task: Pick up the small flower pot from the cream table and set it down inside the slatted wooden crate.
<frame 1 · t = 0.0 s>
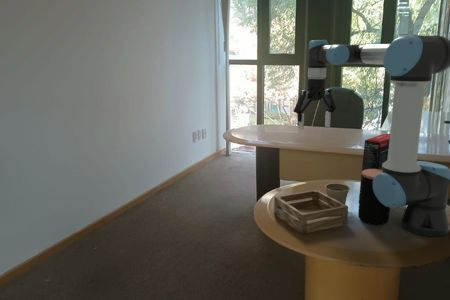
hand: (314, 127, 171), 28 cm above the table, tool pointing down, fingers open, 13 cm apart
crate: (309, 219, 147), on the table
coffee jar: (373, 220, 145), on the table
flower pot: (336, 208, 157), on the table
graphics card box: (375, 201, 163), on the table
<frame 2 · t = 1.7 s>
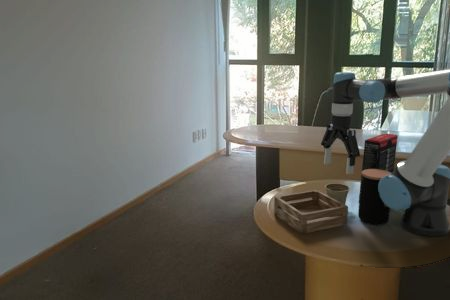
hand: (338, 168, 153), 16 cm above the table, tool pointing down, fingers open, 13 cm apart
nothing on the table moved.
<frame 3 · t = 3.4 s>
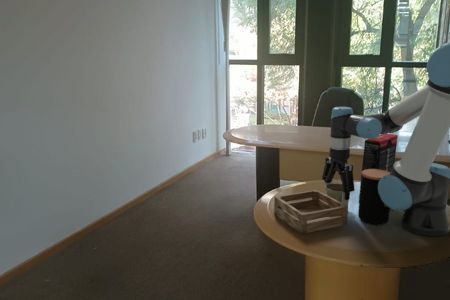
hand: (336, 202, 156), 2 cm above the table, tool pointing down, fingers closed on flower pot, 9 cm apart
flower pot: (336, 208, 157), on the table, touching gripper
everything else where it was.
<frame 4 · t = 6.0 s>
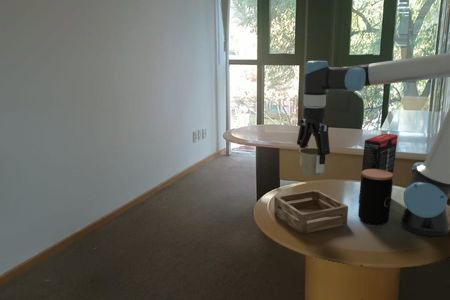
hand: (311, 168, 142), 19 cm above the table, tool pointing down, fingers closed on flower pot, 9 cm apart
flower pot: (311, 174, 143), point 17 cm above the table, touching gripper
everything else where it was.
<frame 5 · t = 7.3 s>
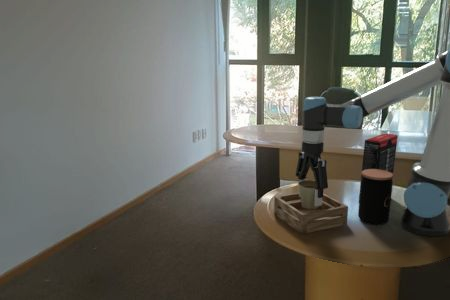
hand: (310, 200, 145), 7 cm above the table, tool pointing down, fingers closed on flower pot, 9 cm apart
flower pot: (309, 206, 145), point 5 cm above the table, touching gripper
everything else where it was.
when the fingers open (3 cm above the table, at t = 8.6 s): flower pot stays where it is, resting on crate.
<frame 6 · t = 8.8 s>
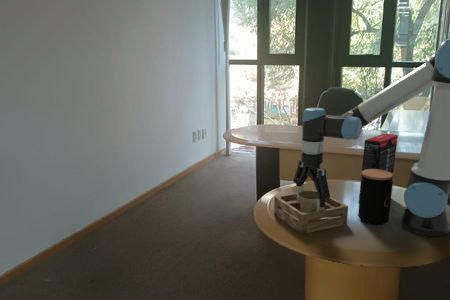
hand: (309, 208, 146), 4 cm above the table, tool pointing down, fingers open, 12 cm apart
flower pot: (309, 217, 146), point 1 cm above the table, touching crate
everything else where it was.
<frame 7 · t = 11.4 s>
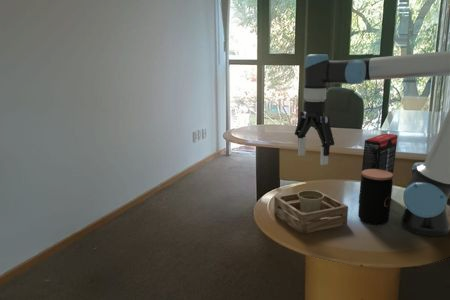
hand: (312, 159, 141), 23 cm above the table, tool pointing down, fingers open, 13 cm apart
nothing on the table moved.
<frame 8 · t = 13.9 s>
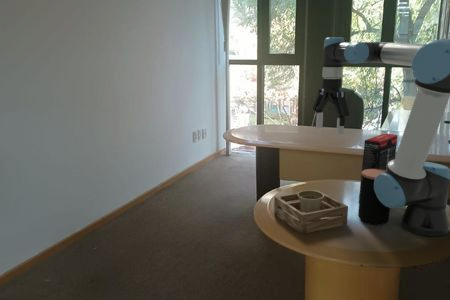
hand: (329, 131, 161), 29 cm above the table, tool pointing down, fingers open, 13 cm apart
nothing on the table moved.
at the end: flower pot 0.1 cm from the crate (horizontally); flower pot inside the target area on the crate (0.1 cm from its centre), point 0.8 cm above the crate's base; flower pot tilted 0° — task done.
